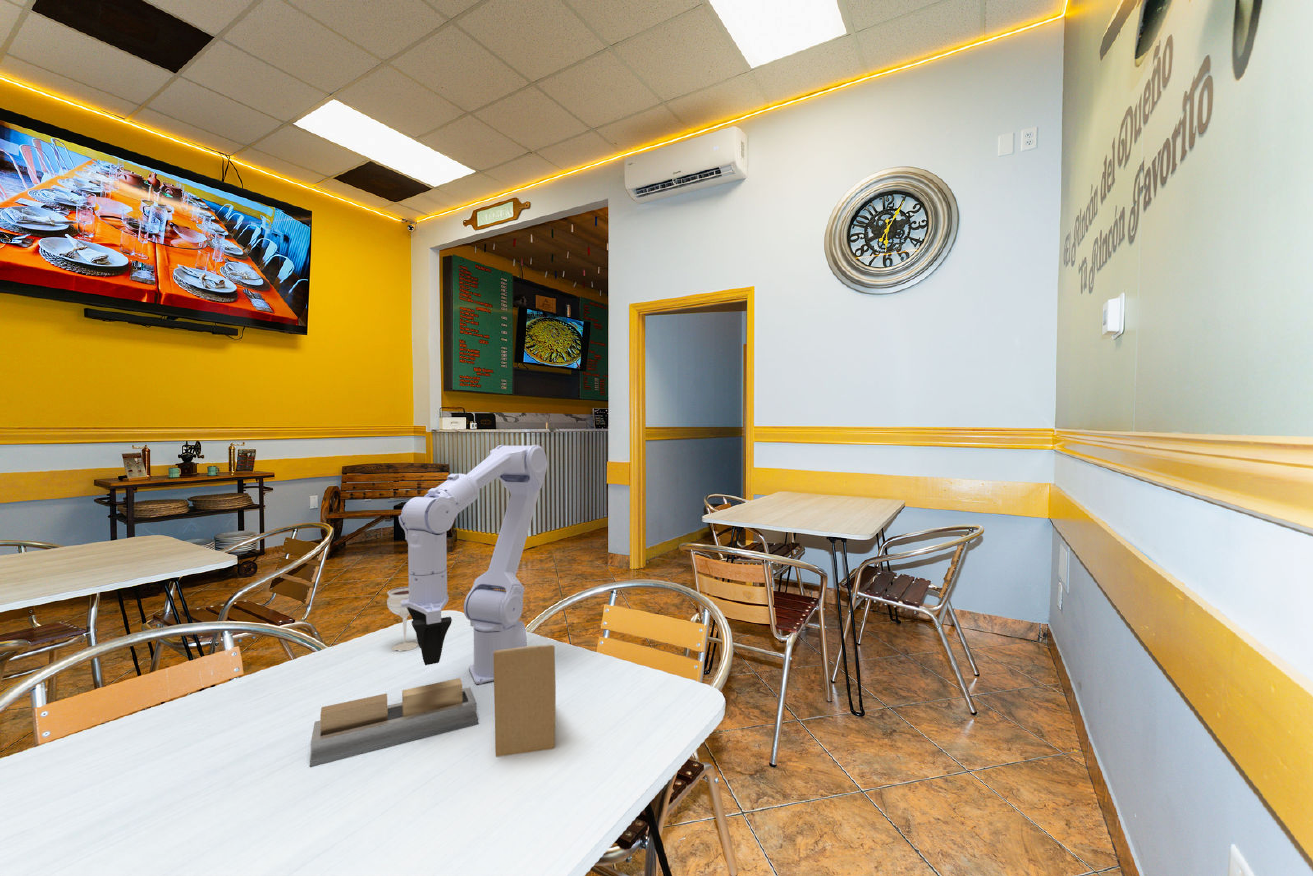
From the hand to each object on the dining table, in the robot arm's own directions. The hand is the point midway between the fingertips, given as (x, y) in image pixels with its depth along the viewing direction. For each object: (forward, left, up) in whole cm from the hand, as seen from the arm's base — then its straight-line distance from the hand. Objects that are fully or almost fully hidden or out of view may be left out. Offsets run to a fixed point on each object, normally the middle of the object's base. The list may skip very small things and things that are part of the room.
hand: (428, 654), depth 87 cm
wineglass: (+2, -32, -10) cm, 33 cm away
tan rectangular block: (0, +3, -9) cm, 9 cm away
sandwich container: (-13, +11, -10) cm, 20 cm away
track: (+5, +3, -9) cm, 11 cm away
